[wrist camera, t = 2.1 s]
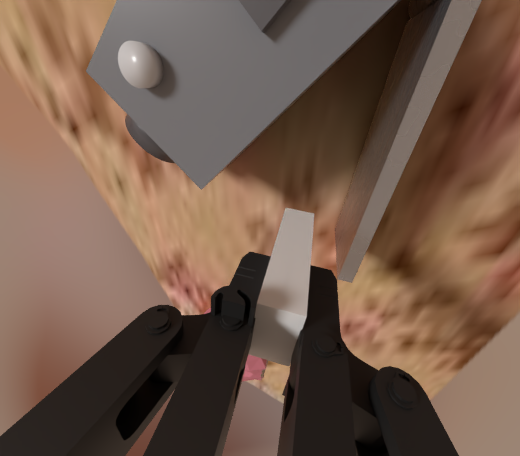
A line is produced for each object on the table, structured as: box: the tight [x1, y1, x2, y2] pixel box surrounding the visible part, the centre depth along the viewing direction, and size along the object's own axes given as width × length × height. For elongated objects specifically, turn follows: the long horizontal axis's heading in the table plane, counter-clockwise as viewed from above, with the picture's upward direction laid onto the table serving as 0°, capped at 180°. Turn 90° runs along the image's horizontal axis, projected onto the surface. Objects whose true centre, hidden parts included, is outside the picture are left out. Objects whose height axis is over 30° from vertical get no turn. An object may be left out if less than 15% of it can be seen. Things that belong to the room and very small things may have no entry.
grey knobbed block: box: [86, 0, 401, 190], centre depth 14 cm, size 18×9×8 cm, turn 132°
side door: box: [335, 0, 482, 283], centre depth 15 cm, size 16×2×7 cm, turn 172°
